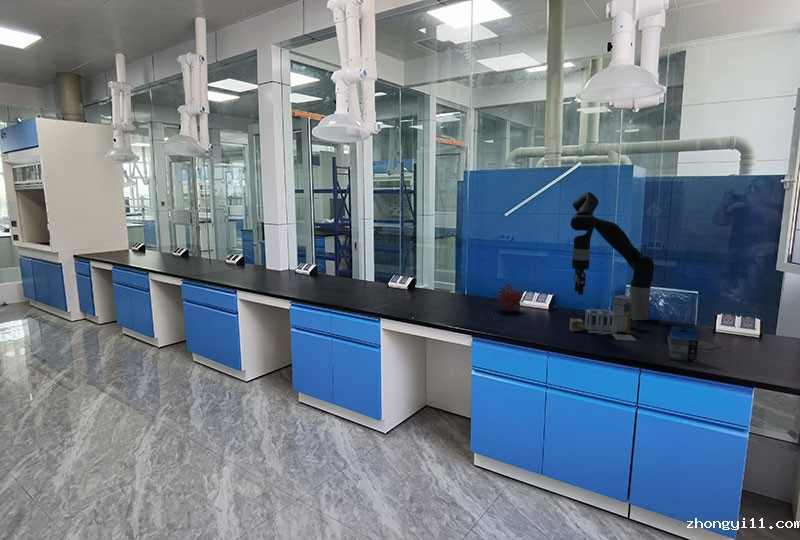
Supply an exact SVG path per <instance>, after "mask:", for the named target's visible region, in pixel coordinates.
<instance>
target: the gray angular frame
mask: <svg viewBox="0 0 800 540" xmlns="http://www.w3.org/2000/svg"><path fill="white" fill-rule="evenodd" d="M593 316H594V317H596V320H595V321H596V322H595V325H600V330H591V325H593V324H592V323H593V322H592V320H593ZM615 316H616V315H615V314H614V313H613V310H611V309H595V308H585V316H584V317H585V319H584V324H589V327H588V330H587V334H589V333H597V334H596V335H606V334H617V333H618V331H617V325H616V324H615ZM604 317H607V321H606V325H609V326H612V330H611V331H603V325H604ZM611 317H612V319H611ZM611 320H612V321H611ZM599 322H600V323H599Z"/></svg>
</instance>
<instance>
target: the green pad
mask: <svg viewBox="0 0 800 540" xmlns="http://www.w3.org/2000/svg"><path fill="white" fill-rule="evenodd" d="M612 335H613V336H614V337H613V336H612ZM612 335H611V336H612V337H613V338H614V340H616V341H617V340H623V341H622V342H634V341H636V342H637V339H636V338H635V337H634V336H633V335H632V334H620V333H619V334H612Z"/></svg>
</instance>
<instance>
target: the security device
mask: <svg viewBox="0 0 800 540" xmlns="http://www.w3.org/2000/svg"><path fill="white" fill-rule="evenodd" d="M669 342H670V335H667V346H668V347H669ZM722 348H723V347H722V346H720V345H717V344H714V343H711V342H709V341H707V340H700V339H698V349H697V350H702V351H714V350H718V349H722ZM702 351H701V352H702Z"/></svg>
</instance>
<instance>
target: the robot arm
mask: <svg viewBox="0 0 800 540" xmlns="http://www.w3.org/2000/svg"><path fill="white" fill-rule="evenodd" d="M599 203H600V202H599V200H598V198H597V196H596V195H595V194H593V193H592V192H585V193H583V194H582V195H581V196H580V197H579V198H578V199H576V200H575V201H573V203H572V208H574V210H575V211H576V212H577V213H575V214H574V215H573V216H572V217H571V220H570V227H571V229H572V230H573V231H584V232H585V231H586V233H584V234H581V235H576V236H575V237H574V238H573V250H572V257H571V258H572V259H571V269H573V270H574V276H573V277H574V278H573V282H574V292H577V295H581V296H583V295H584V289H585V288H584V287H586V275H587V274H586V273H585V270H589V269H590V263H591V262H590V259H591V250H590V249H591V248H590V247H591V239H592V235H593V232H594V230H595V231H597V233H598V234H599V235H600V236H601V237H602V238H603V239H604V240H605V241H606V243H607V244H608V245H609V246H610V247H611V248H613V249H614V250H615V251H616V252H618V254H620V256H622V257H623V259H624V260H625V261H626V262H627V264H628V266H629V267H630V268H631V269H632V271H633V276H632V279H631V280H630V286H629V297H631V313H630V317H631V319H632V320H631V321H637V320H640V321H639V322H642V321H641V320H649V321H650V316H651V303H652V302H651V301H650V299H651V285H652V283H653V280H654V273H655V263H654V261H653V259H652V258H651V257H649V256H646V255H645V254H643V253H641V252H640V251H639V250H638V249H637V248H636V247H635V246H634V245H633V244H632V242H631V240H630V239H629V236H628V235H627V234H626V233H625V232H624V230H623V229H622V228H621V227H620V226H619V225H618V224H617V223H615V222H614V221H613V222H612V221H608V220H605V219H601V218H597V217H596V216H594V215H593V214H594V212H595V211H596V209H597V207H598V206H599Z"/></svg>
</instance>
